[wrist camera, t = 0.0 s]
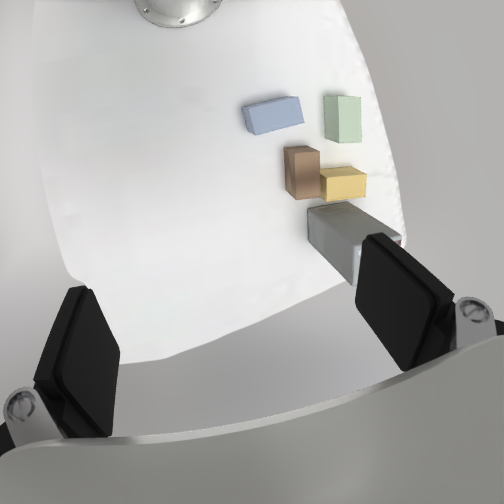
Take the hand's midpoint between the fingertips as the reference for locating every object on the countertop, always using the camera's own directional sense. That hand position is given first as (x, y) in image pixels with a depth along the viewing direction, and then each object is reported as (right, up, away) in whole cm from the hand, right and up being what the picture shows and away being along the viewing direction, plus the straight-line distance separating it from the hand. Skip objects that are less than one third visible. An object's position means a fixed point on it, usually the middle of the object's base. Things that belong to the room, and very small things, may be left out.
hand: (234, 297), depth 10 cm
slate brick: (+3, +22, +32) cm, 39 cm away
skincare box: (+14, +7, +42) cm, 45 cm away
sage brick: (+14, +23, +34) cm, 43 cm away
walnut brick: (+8, +15, +37) cm, 40 cm away
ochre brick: (+14, +14, +39) cm, 44 cm away
